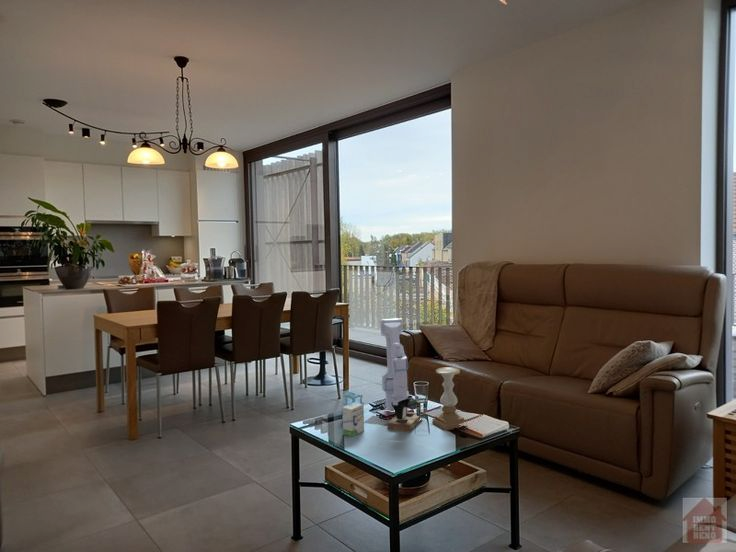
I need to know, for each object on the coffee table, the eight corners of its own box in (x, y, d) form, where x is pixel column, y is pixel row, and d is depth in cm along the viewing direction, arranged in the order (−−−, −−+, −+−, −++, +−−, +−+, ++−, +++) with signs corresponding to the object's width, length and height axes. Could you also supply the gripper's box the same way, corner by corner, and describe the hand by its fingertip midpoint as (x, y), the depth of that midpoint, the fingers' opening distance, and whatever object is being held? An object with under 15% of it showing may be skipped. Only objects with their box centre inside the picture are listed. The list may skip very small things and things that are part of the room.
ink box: (355, 428, 227) (354, 401, 227) (365, 431, 224) (363, 403, 223) (342, 435, 221) (341, 407, 220) (352, 437, 217) (351, 409, 217)
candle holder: (431, 423, 231) (430, 368, 229) (453, 418, 235) (451, 365, 234) (445, 430, 221) (444, 374, 219) (467, 426, 225) (466, 370, 224)
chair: (366, 417, 241) (365, 391, 240) (353, 422, 235) (352, 395, 235) (355, 414, 247) (354, 388, 246) (341, 418, 241) (340, 392, 240)
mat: (372, 416, 243) (372, 415, 243) (393, 418, 239) (393, 417, 239) (363, 423, 234) (363, 422, 234) (384, 425, 230) (384, 425, 230)
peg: (399, 425, 228) (401, 405, 228) (406, 427, 227) (407, 406, 226) (396, 427, 226) (398, 406, 225) (403, 429, 224) (404, 408, 224)
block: (400, 417, 239) (400, 411, 239) (422, 419, 235) (421, 413, 235) (387, 429, 225) (387, 422, 225) (409, 432, 221) (409, 425, 220)
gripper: (397, 380, 233) (398, 410, 234) (385, 389, 220) (386, 421, 221) (413, 381, 230) (414, 412, 231) (401, 390, 217) (402, 423, 218)
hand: (401, 416), depth 226 cm, fingers open, 4 cm apart
